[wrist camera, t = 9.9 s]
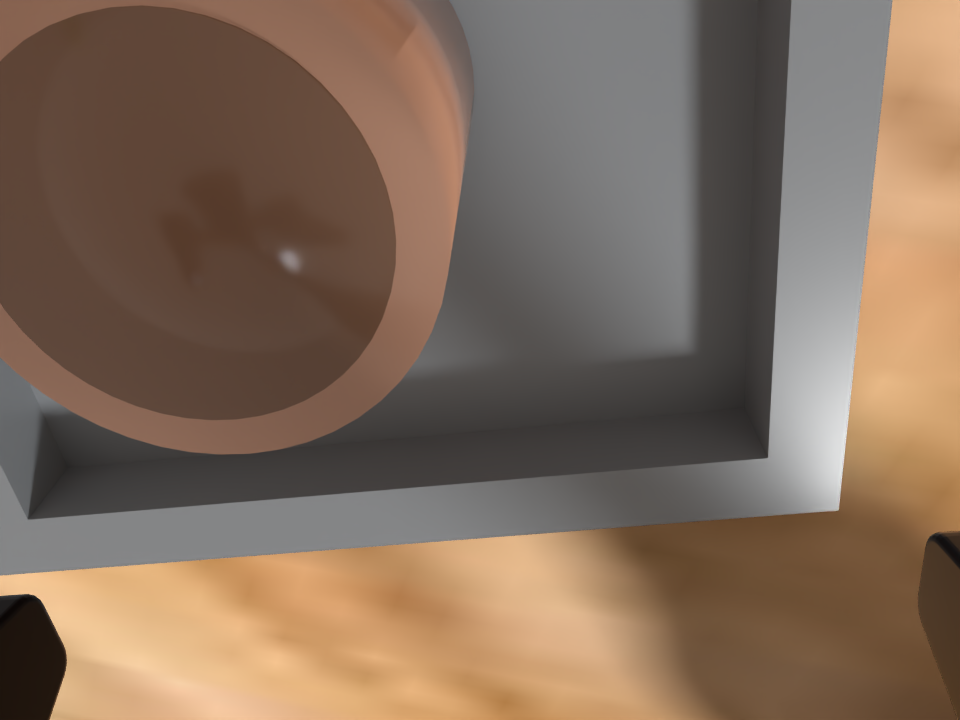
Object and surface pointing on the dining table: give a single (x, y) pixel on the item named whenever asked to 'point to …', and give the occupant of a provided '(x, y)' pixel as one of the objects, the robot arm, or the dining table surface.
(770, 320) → the tray
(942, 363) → the dining table surface
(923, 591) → the robot arm
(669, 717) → the dining table surface
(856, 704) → the dining table surface
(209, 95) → the terracotta cup
